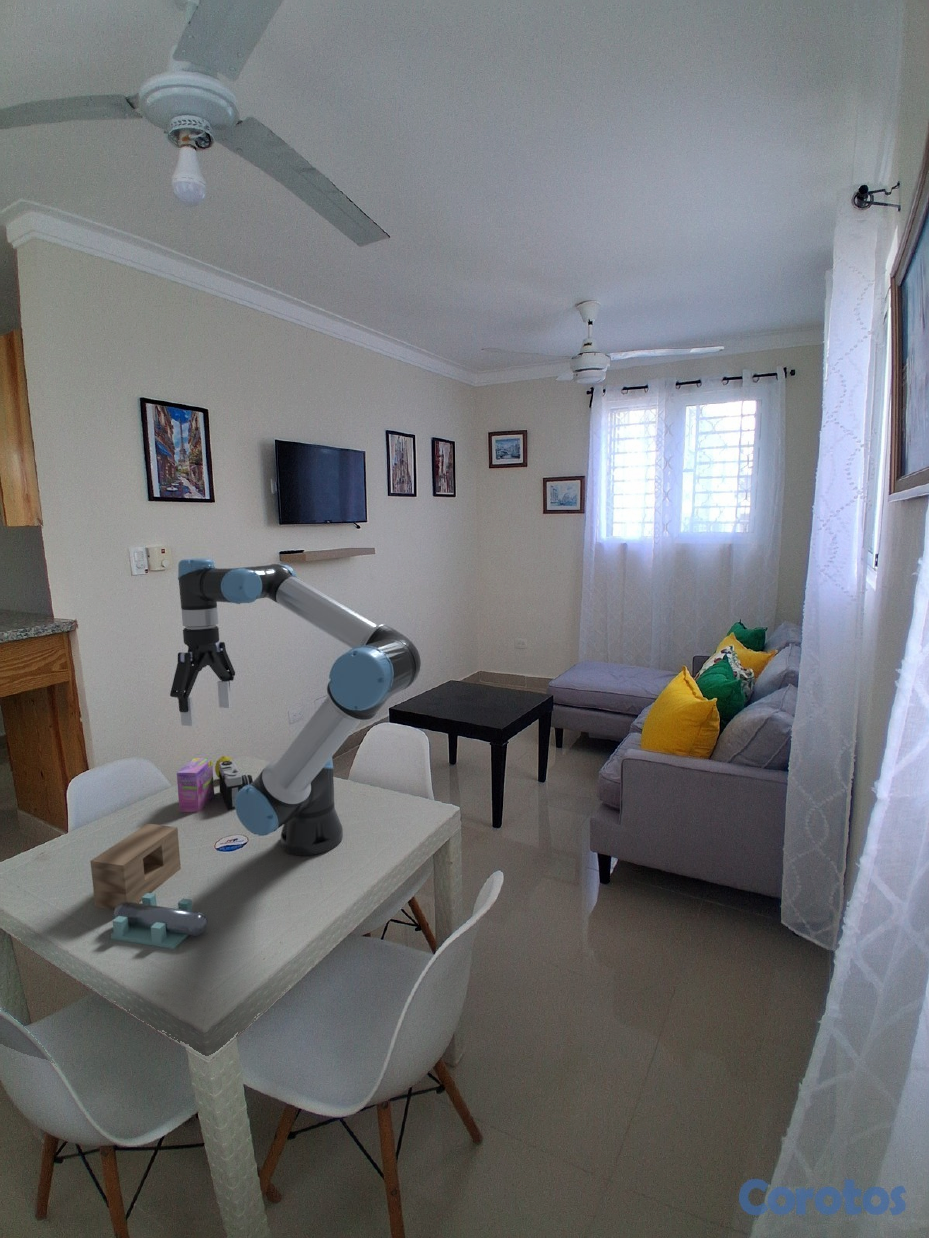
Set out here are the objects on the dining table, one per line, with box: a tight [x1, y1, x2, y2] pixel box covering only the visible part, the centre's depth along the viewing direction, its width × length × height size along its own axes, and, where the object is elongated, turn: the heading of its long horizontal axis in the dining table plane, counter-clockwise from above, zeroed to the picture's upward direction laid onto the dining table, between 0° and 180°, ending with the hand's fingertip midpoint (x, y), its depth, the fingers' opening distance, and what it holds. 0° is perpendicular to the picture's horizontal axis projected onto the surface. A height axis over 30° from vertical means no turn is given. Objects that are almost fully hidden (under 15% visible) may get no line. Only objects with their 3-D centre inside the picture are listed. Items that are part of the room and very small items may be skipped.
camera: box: [218, 760, 254, 811], centre depth 173 cm, size 14×9×10 cm, turn 24°
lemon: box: [214, 755, 233, 778], centre depth 186 cm, size 6×6×8 cm
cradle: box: [110, 893, 194, 950], centre depth 117 cm, size 14×9×4 cm, turn 77°
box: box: [176, 757, 215, 813], centre depth 170 cm, size 10×6×12 cm, turn 179°
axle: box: [112, 902, 208, 936], centre depth 116 cm, size 20×4×4 cm, turn 77°
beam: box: [89, 823, 182, 911], centre depth 130 cm, size 8×16×10 cm, turn 167°
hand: (207, 715), depth 139 cm, fingers open, 13 cm apart
